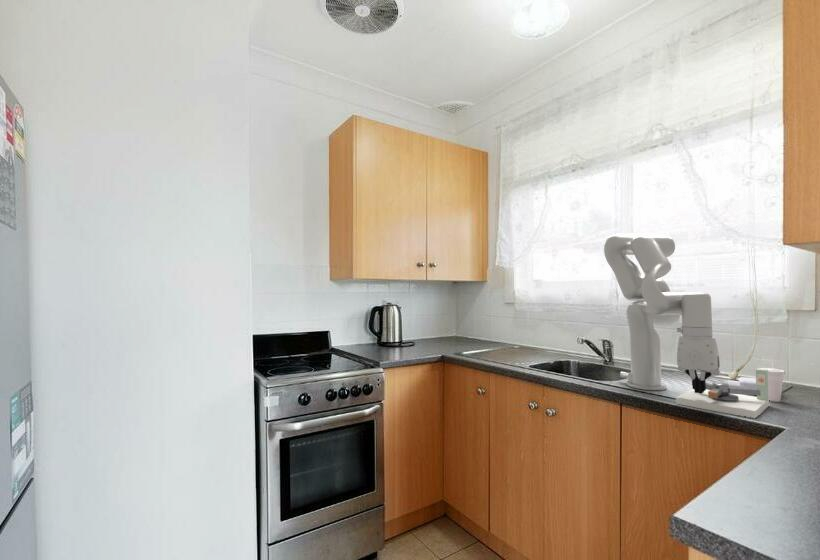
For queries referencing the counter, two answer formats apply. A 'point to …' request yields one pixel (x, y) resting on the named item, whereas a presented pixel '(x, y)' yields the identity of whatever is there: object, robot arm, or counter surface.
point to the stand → (742, 407)
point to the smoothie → (775, 382)
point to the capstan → (728, 391)
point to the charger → (742, 383)
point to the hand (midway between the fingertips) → (699, 392)
